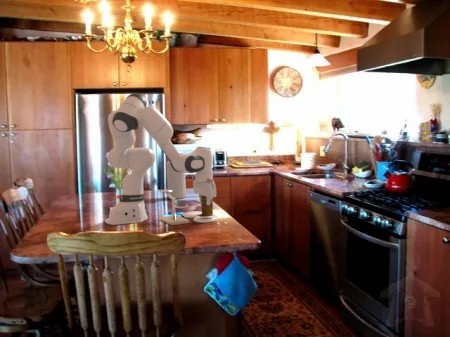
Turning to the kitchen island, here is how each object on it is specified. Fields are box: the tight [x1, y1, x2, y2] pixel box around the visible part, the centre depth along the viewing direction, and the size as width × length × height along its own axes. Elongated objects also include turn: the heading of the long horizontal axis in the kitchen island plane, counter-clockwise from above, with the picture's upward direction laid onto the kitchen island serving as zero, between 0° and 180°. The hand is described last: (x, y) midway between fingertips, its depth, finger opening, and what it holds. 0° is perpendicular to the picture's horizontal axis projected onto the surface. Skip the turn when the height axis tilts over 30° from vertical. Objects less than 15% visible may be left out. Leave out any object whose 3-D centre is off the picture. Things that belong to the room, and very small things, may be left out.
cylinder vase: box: [166, 160, 187, 200], centre depth 319 cm, size 12×12×25 cm
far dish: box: [181, 210, 202, 219], centre depth 258 cm, size 13×13×1 cm
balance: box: [159, 189, 190, 226], centre depth 243 cm, size 10×26×15 cm, turn 30°
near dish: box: [193, 215, 219, 224], centre depth 245 cm, size 13×13×1 cm
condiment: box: [196, 195, 216, 217], centre depth 244 cm, size 7×8×12 cm
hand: (205, 203), depth 244 cm, fingers closed on condiment, 6 cm apart
